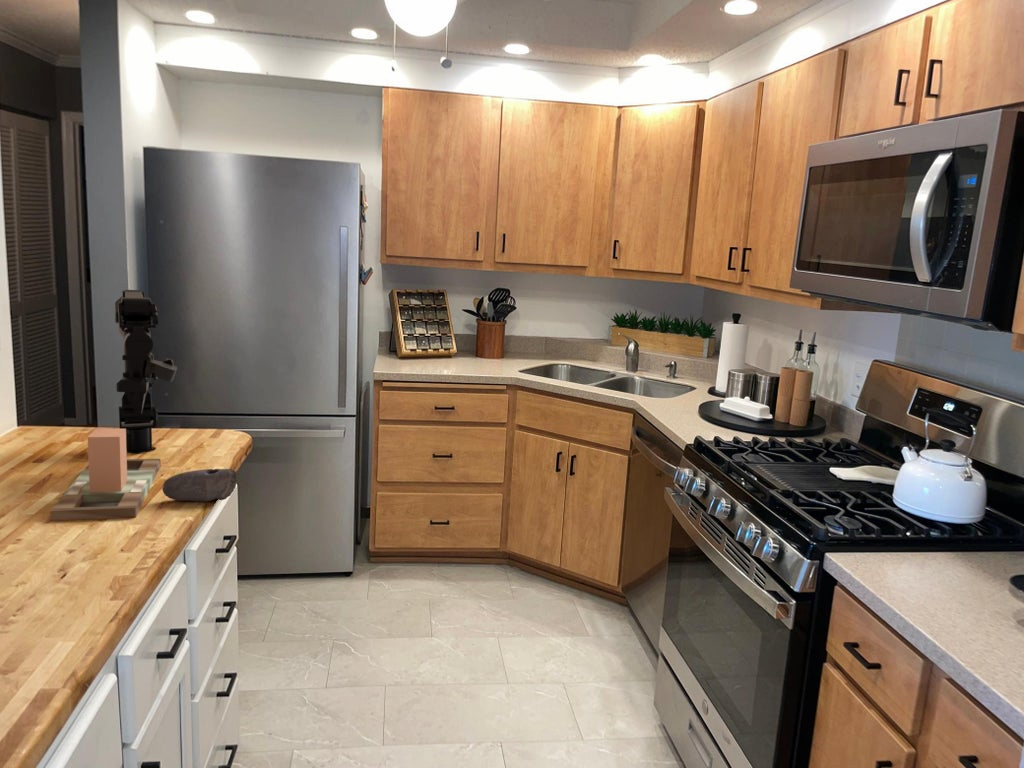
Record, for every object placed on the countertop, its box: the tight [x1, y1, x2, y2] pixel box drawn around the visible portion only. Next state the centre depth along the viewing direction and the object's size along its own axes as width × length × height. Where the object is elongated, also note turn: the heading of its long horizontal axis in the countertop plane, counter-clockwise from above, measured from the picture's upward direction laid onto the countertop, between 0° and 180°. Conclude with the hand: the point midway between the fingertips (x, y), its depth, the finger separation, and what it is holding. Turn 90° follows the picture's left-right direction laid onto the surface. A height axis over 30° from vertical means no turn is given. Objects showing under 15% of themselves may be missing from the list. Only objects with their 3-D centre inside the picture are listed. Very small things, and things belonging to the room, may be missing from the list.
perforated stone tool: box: [161, 468, 238, 503], centre depth 164 cm, size 15×5×7 cm, turn 104°
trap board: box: [50, 458, 162, 522], centre depth 166 cm, size 35×15×2 cm, turn 17°
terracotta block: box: [87, 428, 128, 492], centre depth 162 cm, size 7×6×12 cm
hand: (139, 414), depth 182 cm, fingers closed
